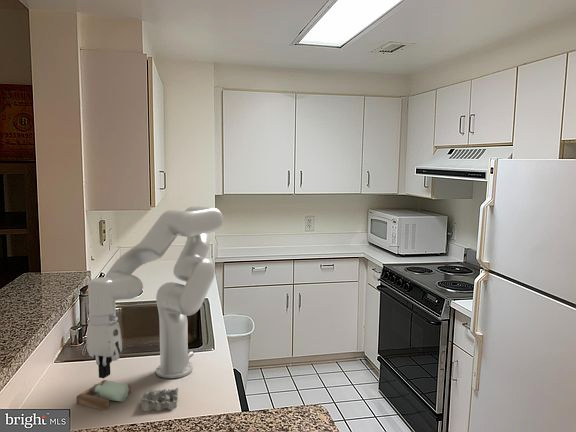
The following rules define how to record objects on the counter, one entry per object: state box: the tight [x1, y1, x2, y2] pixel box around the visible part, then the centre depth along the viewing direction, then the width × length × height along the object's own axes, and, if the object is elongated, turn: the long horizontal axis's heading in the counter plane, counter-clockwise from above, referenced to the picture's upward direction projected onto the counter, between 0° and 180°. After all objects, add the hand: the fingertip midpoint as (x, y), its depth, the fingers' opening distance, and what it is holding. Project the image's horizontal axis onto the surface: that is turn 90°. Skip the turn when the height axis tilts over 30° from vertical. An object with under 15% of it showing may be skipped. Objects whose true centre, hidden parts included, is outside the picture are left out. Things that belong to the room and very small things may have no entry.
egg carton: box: [140, 387, 179, 412], centre depth 136 cm, size 11×8×4 cm
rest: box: [76, 379, 132, 411], centre depth 140 cm, size 12×11×2 cm
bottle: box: [92, 380, 129, 403], centre depth 140 cm, size 5×5×10 cm
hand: (104, 376), depth 139 cm, fingers closed
